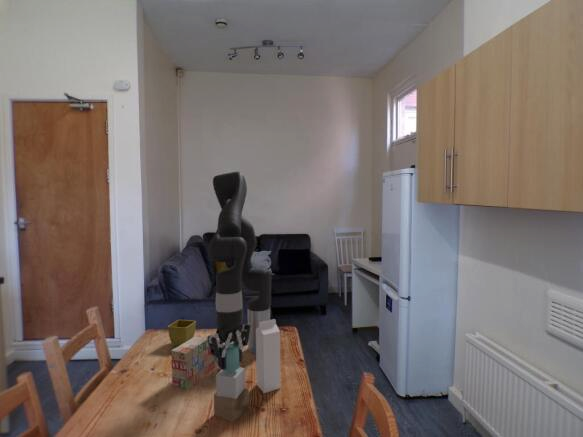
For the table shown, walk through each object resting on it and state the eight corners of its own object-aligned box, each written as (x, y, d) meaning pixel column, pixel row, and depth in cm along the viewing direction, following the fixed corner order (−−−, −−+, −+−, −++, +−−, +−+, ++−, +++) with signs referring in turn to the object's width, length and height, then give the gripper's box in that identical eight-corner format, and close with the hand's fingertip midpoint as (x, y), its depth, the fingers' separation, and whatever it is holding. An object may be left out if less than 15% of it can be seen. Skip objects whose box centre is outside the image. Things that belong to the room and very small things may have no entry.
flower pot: (197, 340, 150) (196, 320, 150) (186, 349, 142) (186, 327, 141) (179, 339, 152) (178, 319, 152) (167, 347, 144) (167, 326, 143)
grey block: (226, 384, 102) (226, 365, 102) (245, 387, 101) (244, 367, 100) (216, 395, 97) (216, 375, 96) (235, 399, 95) (235, 378, 95)
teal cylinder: (232, 361, 102) (231, 341, 101) (242, 366, 98) (242, 346, 98) (218, 367, 98) (217, 347, 98) (228, 373, 95) (228, 352, 94)
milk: (280, 388, 111) (280, 321, 110) (263, 393, 108) (263, 325, 107) (272, 379, 116) (272, 316, 115) (256, 384, 113) (255, 319, 112)
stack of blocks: (210, 358, 133) (209, 327, 132) (224, 361, 131) (223, 329, 130) (171, 386, 113) (170, 349, 113) (187, 389, 111) (186, 352, 110)
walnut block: (230, 402, 104) (230, 383, 103) (248, 409, 100) (248, 389, 100) (214, 414, 98) (213, 394, 97) (232, 422, 94) (232, 401, 94)
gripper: (240, 299, 105) (241, 353, 106) (200, 310, 95) (201, 370, 95) (256, 303, 100) (257, 360, 101) (216, 316, 90) (217, 379, 90)
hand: (230, 364), depth 98 cm, fingers closed on teal cylinder, 5 cm apart
